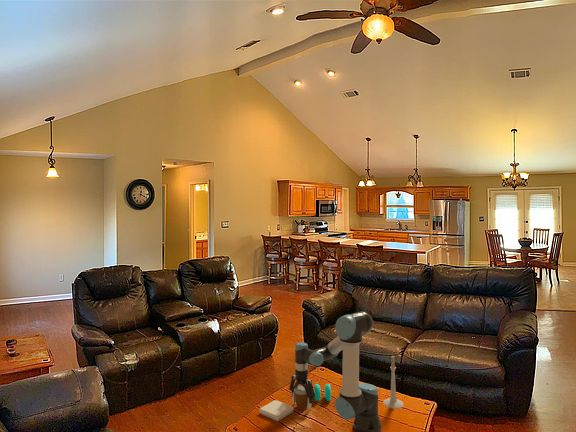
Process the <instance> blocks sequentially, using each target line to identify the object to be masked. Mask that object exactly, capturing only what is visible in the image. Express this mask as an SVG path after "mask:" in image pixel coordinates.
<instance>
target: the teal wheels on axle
mask: <svg viewBox="0 0 576 432" xmlns="http://www.w3.org/2000/svg"><path fill="white" fill-rule="evenodd" d="M313 390H314V393H315V397H314V401H316V402H319V401H320V399H321V395H322V394H321V386H320V385H319V384H318V383H316V384H314V387H313ZM324 398H325V400H326V401H327V402H330V401H331V400H332V389H331V384H330V383H326V384H325V385H324Z"/></svg>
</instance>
